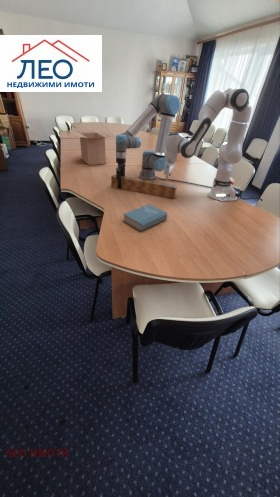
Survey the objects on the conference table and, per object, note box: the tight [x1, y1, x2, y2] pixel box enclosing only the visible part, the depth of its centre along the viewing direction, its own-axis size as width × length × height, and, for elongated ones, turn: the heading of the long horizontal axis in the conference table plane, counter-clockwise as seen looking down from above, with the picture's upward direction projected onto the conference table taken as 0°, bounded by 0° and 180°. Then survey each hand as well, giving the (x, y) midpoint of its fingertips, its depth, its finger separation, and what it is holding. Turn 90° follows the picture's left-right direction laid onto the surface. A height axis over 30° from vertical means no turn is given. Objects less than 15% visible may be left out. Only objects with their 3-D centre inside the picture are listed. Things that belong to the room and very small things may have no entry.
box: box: [70, 129, 114, 166], centre depth 229 cm, size 44×36×27 cm
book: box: [122, 203, 168, 232], centre depth 138 cm, size 23×16×5 cm
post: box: [110, 174, 178, 200], centre depth 175 cm, size 52×5×9 cm, turn 72°
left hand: (120, 186), depth 181 cm, fingers closed on post, 5 cm apart
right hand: (168, 177), depth 165 cm, fingers open, 8 cm apart
